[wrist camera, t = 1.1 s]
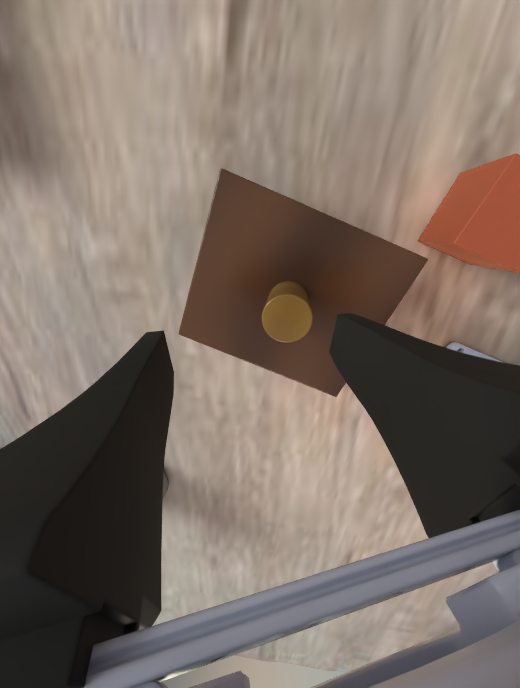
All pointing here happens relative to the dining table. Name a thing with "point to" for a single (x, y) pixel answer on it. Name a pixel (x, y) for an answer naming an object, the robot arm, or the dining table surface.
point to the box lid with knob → (287, 281)
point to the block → (481, 217)
